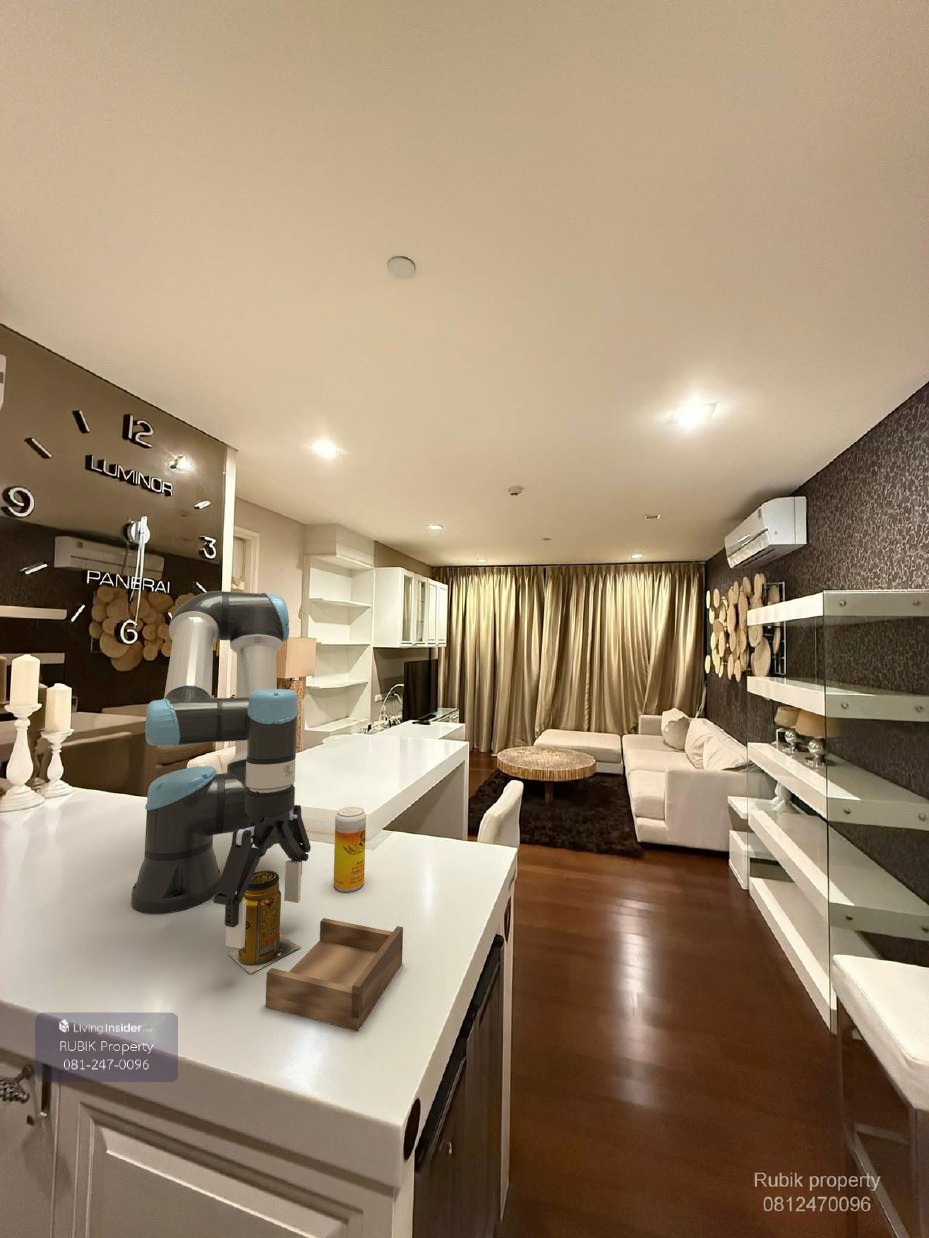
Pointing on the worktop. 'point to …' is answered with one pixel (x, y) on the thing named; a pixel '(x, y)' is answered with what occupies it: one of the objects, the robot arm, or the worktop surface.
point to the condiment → (263, 924)
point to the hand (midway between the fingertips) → (266, 921)
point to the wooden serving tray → (338, 974)
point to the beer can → (349, 849)
